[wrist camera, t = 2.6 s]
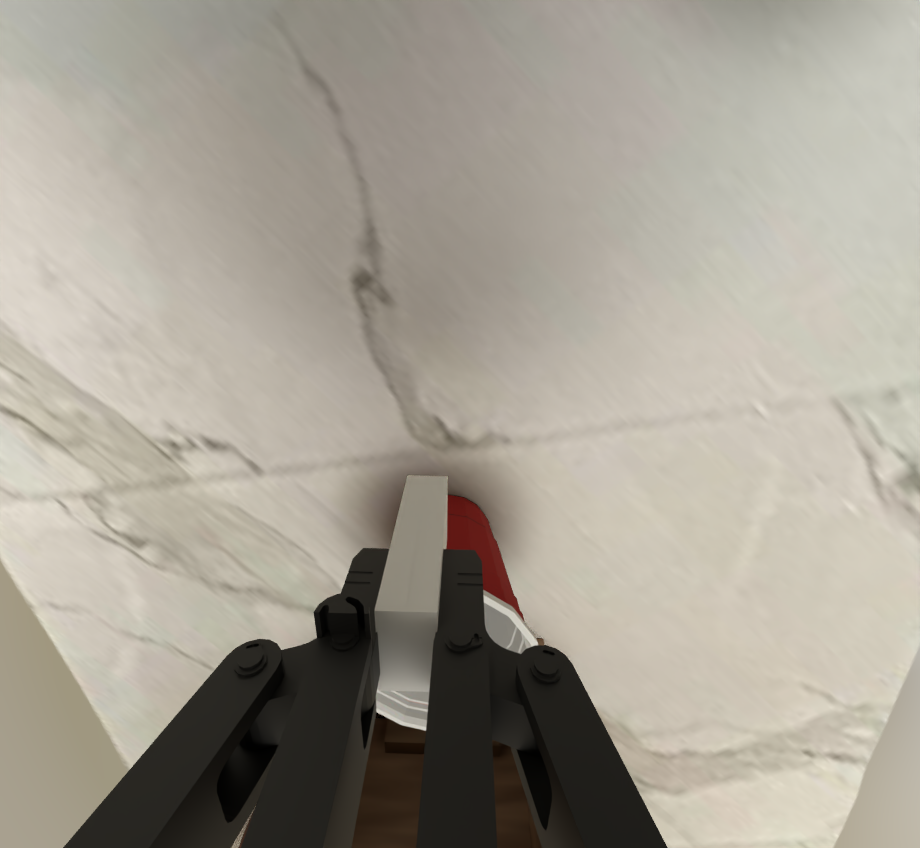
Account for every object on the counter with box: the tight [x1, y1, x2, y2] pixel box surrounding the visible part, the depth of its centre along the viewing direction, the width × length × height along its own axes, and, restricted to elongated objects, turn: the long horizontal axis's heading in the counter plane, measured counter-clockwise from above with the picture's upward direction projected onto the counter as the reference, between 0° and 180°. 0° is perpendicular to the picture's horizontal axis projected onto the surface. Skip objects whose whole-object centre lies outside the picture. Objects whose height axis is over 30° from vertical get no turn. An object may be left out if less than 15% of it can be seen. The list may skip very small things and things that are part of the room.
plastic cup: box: [376, 495, 538, 731], centre depth 28 cm, size 11×11×12 cm
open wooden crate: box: [351, 639, 544, 848], centre depth 33 cm, size 12×16×16 cm
